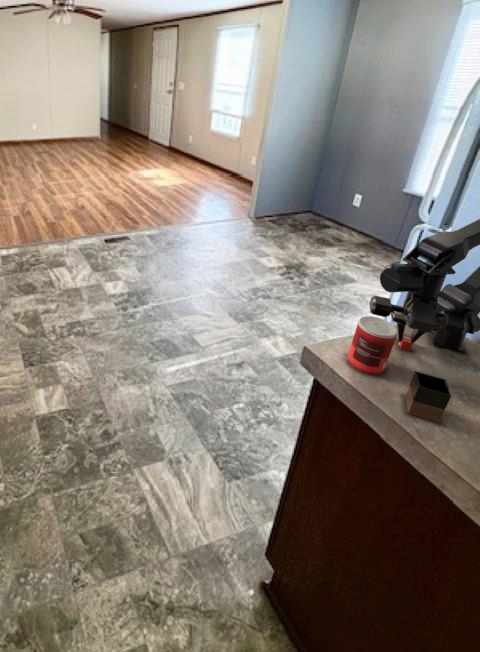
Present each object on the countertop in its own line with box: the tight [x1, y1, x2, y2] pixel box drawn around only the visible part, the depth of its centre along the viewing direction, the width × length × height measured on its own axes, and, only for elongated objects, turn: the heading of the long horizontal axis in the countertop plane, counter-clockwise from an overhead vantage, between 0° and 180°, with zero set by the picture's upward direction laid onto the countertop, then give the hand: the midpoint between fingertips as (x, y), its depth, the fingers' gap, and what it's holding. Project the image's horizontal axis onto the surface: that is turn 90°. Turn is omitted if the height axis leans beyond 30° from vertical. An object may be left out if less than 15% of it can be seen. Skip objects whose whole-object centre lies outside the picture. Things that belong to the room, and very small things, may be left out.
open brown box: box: [409, 370, 452, 411], centre depth 85 cm, size 5×5×4 cm
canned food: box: [347, 315, 398, 375], centre depth 98 cm, size 8×8×11 cm
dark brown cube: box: [404, 384, 445, 424], centre depth 87 cm, size 5×5×4 cm
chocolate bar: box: [398, 333, 413, 352], centre depth 107 cm, size 4×2×2 cm, turn 152°
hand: (404, 342), depth 107 cm, fingers closed on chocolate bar, 2 cm apart
